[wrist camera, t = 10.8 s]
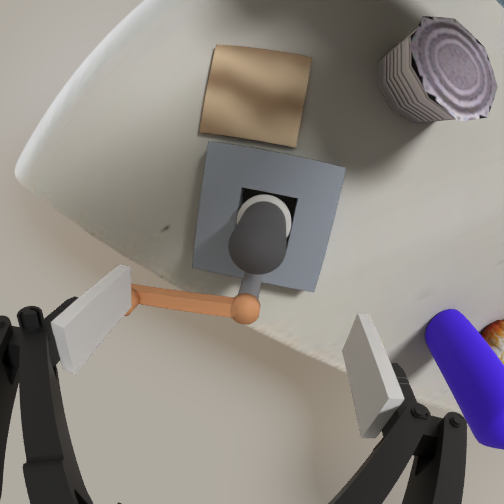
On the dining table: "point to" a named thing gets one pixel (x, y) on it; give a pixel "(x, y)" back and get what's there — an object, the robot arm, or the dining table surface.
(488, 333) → the fruit
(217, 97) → the coaster
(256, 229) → the plug
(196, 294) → the ball-ended peach stick
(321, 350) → the dining table surface
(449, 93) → the can
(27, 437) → the robot arm
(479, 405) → the bottle
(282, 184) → the socket
